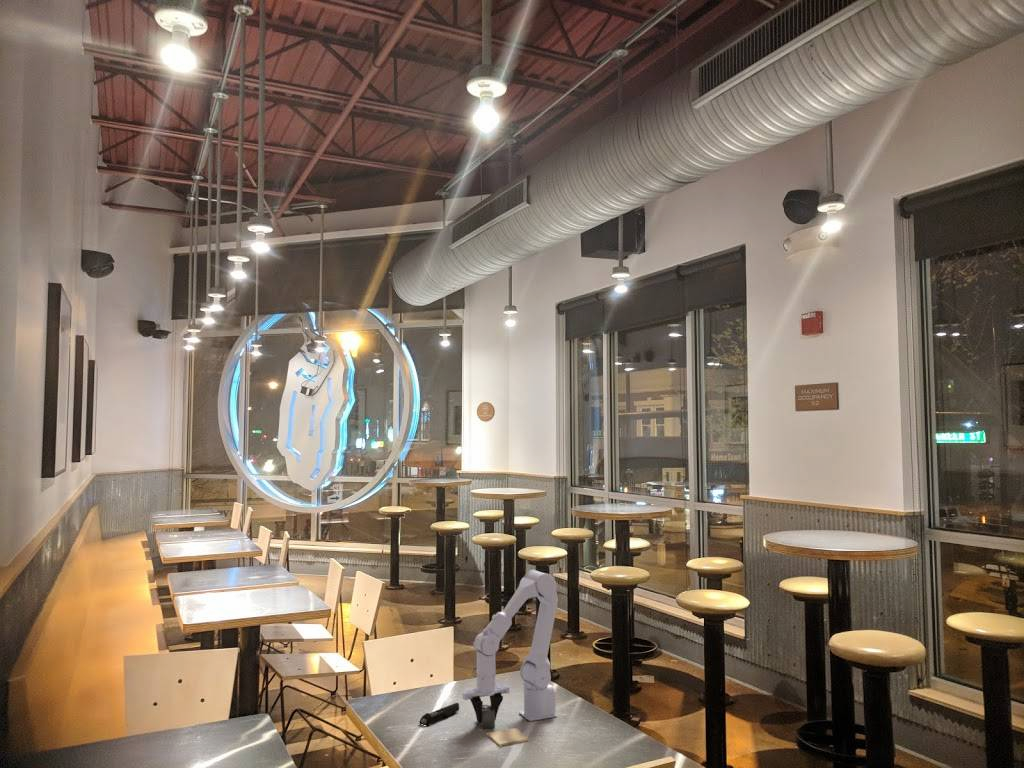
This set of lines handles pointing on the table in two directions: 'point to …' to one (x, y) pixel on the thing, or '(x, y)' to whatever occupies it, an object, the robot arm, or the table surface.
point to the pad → (507, 736)
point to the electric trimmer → (439, 714)
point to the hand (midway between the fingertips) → (486, 720)
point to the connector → (487, 717)
